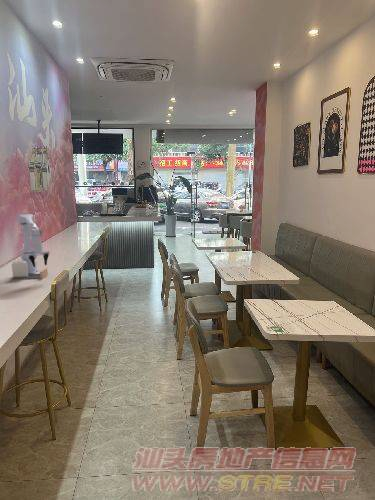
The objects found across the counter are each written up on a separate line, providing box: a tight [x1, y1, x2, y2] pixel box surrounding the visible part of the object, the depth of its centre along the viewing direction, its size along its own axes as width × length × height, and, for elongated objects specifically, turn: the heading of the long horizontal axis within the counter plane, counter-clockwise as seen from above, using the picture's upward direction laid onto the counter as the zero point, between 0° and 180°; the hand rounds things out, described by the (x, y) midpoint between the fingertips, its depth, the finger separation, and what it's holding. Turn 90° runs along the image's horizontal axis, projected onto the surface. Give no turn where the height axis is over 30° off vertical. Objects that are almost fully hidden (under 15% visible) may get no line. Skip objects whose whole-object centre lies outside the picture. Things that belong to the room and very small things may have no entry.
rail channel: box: [12, 268, 48, 280], centre depth 278 cm, size 10×22×5 cm, turn 90°
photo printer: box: [11, 260, 29, 277], centre depth 278 cm, size 10×4×12 cm, turn 96°
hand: (40, 265), depth 267 cm, fingers open, 7 cm apart
